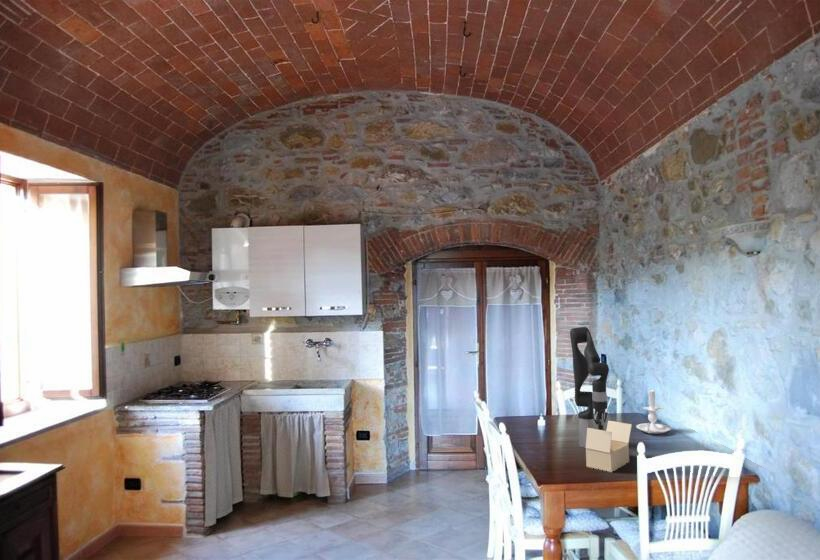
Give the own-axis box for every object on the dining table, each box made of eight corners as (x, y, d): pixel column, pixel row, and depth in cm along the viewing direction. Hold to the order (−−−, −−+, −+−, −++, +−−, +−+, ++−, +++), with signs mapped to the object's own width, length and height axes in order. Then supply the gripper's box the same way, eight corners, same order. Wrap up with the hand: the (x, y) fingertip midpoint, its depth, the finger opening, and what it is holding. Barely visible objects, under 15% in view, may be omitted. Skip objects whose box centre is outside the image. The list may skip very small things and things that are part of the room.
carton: (604, 456, 300) (604, 439, 300) (629, 461, 290) (628, 443, 290) (586, 466, 285) (585, 448, 285) (611, 472, 275) (610, 453, 275)
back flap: (604, 438, 300) (604, 439, 300) (628, 443, 290) (628, 443, 290) (608, 420, 304) (608, 420, 304) (631, 424, 294) (632, 424, 294)
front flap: (587, 427, 287) (587, 427, 286) (611, 431, 277) (611, 431, 277) (586, 447, 285) (585, 447, 284) (610, 453, 275) (609, 452, 275)
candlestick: (631, 435, 339) (629, 392, 340) (640, 426, 359) (638, 385, 360) (665, 440, 327) (663, 395, 327) (673, 430, 347) (671, 388, 347)
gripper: (598, 396, 290) (600, 427, 290) (587, 400, 281) (588, 433, 281) (611, 398, 285) (613, 430, 285) (600, 402, 276) (602, 435, 276)
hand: (601, 431), depth 283 cm, fingers closed
